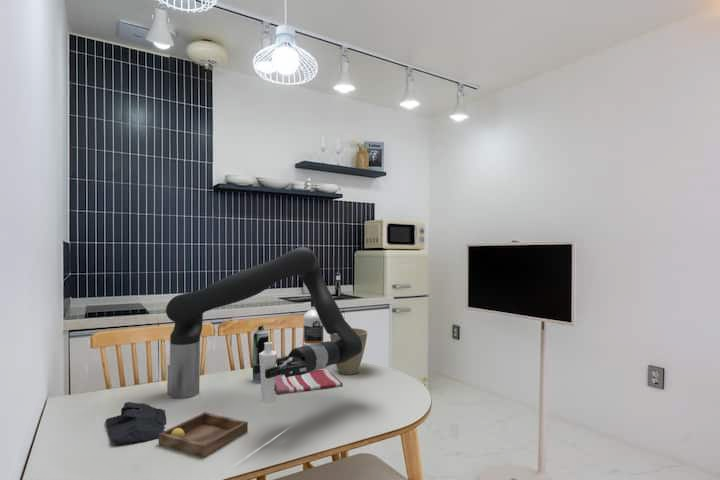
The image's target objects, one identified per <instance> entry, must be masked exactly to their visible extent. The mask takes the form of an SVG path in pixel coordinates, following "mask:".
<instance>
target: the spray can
mask: <svg viewBox="0 0 720 480" xmlns="http://www.w3.org/2000/svg"><path fill="white" fill-rule="evenodd" d="M269 335H270V334H269V331H267V330H266V329H265V328H264V325H260V326H258V328H257V329H256V330H255V331H254V332H253V335H252V337H253V338H252V342H253V343H252V367H253V366H254V365H257V364H260V361H259V353H261V352H263V351H264V350H265V344H264V343H266V342H270V341H269ZM252 382H253V383H255V384H261V375H260V373H258V374H253V373H252Z"/></svg>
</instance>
